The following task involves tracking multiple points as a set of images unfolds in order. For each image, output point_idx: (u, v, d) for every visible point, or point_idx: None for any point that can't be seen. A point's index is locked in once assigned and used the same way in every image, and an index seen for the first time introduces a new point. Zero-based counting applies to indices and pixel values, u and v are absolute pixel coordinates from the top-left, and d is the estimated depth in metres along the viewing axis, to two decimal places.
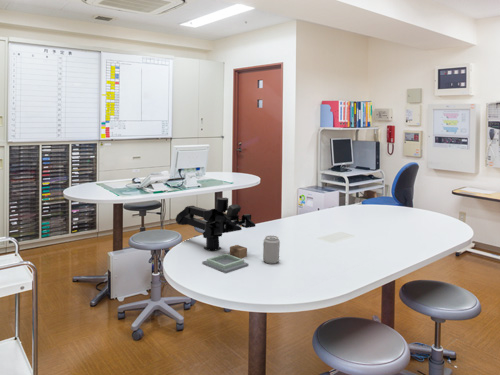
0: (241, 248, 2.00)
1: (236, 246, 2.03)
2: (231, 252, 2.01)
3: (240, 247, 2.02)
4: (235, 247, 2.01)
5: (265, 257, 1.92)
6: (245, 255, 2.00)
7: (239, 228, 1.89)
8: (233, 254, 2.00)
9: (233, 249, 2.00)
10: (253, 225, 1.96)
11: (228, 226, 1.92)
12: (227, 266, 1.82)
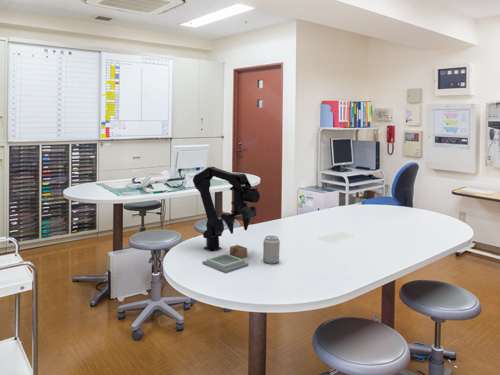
0: (241, 248, 2.00)
1: (236, 246, 2.03)
2: (231, 252, 2.01)
3: (240, 247, 2.02)
4: (235, 247, 2.01)
5: (265, 257, 1.92)
6: (245, 255, 2.00)
7: (231, 231, 1.96)
8: (233, 254, 2.00)
9: (233, 249, 2.00)
10: (245, 228, 2.03)
11: None
12: (227, 266, 1.82)
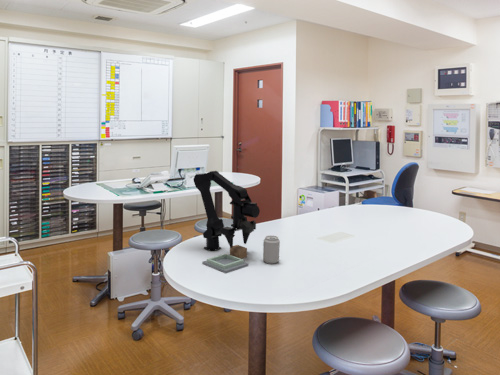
0: (241, 248, 2.00)
1: (236, 246, 2.03)
2: (231, 252, 2.01)
3: (240, 247, 2.02)
4: (235, 247, 2.01)
5: (265, 257, 1.92)
6: (245, 255, 2.00)
7: (230, 245, 1.97)
8: (233, 254, 2.01)
9: (233, 249, 2.00)
10: (244, 241, 2.04)
11: None
12: (227, 266, 1.82)
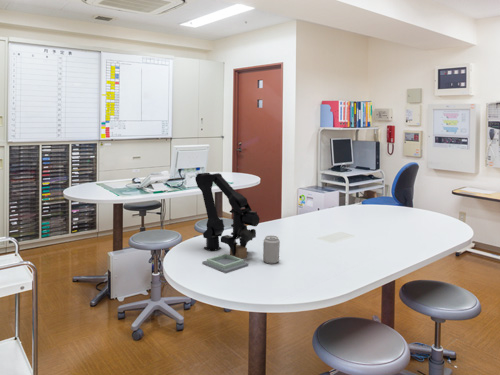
0: (241, 248, 1.99)
1: (236, 246, 2.03)
2: (231, 251, 2.01)
3: (240, 246, 2.02)
4: None
5: (265, 257, 1.92)
6: (245, 255, 2.00)
7: (233, 253, 1.99)
8: None
9: None
10: None
11: None
12: (227, 266, 1.82)
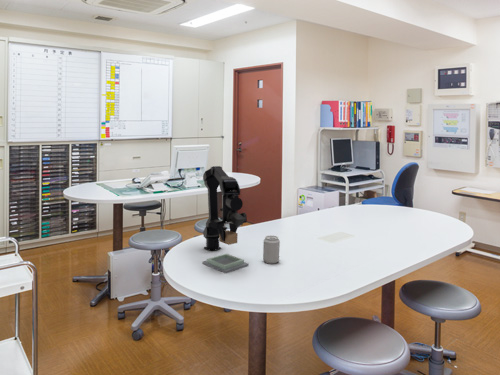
0: (231, 233, 1.87)
1: (226, 231, 1.90)
2: None
3: (230, 232, 1.89)
4: (225, 232, 1.88)
5: (265, 257, 1.92)
6: (235, 241, 1.87)
7: (223, 238, 1.86)
8: None
9: None
10: None
11: None
12: (227, 266, 1.82)
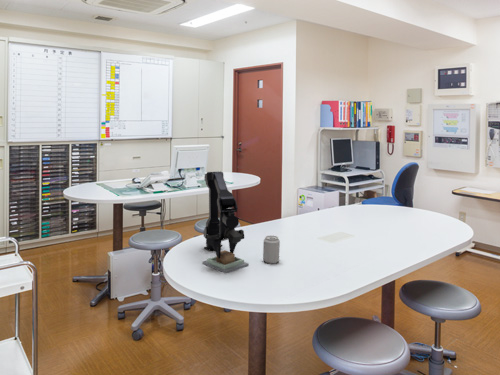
0: (228, 254, 1.87)
1: (223, 252, 1.90)
2: (218, 258, 1.88)
3: (228, 252, 1.89)
4: (222, 253, 1.88)
5: (265, 257, 1.92)
6: (232, 261, 1.87)
7: (218, 255, 1.85)
8: (220, 260, 1.88)
9: None
10: (231, 252, 1.91)
11: None
12: (227, 266, 1.82)
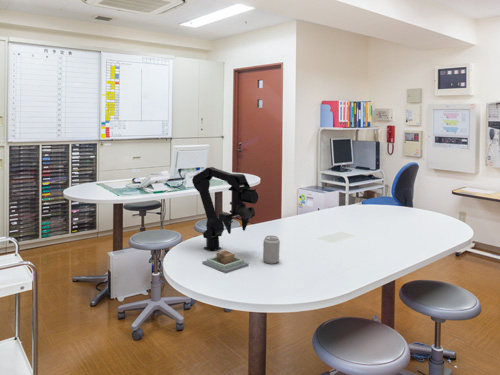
0: (228, 254, 1.87)
1: (223, 252, 1.90)
2: (218, 258, 1.88)
3: (228, 252, 1.89)
4: (222, 253, 1.88)
5: (265, 257, 1.92)
6: (232, 261, 1.87)
7: (228, 231, 1.97)
8: (220, 260, 1.88)
9: (220, 255, 1.87)
10: (243, 228, 2.03)
11: None
12: (227, 266, 1.82)
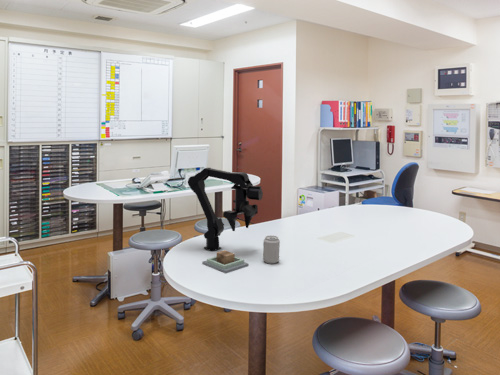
0: (228, 254, 1.87)
1: (223, 252, 1.90)
2: (218, 258, 1.88)
3: (228, 252, 1.89)
4: (222, 253, 1.88)
5: (265, 257, 1.92)
6: (232, 261, 1.87)
7: (233, 228, 2.01)
8: (220, 260, 1.88)
9: (220, 255, 1.87)
10: (246, 225, 2.08)
11: None
12: (227, 266, 1.82)
